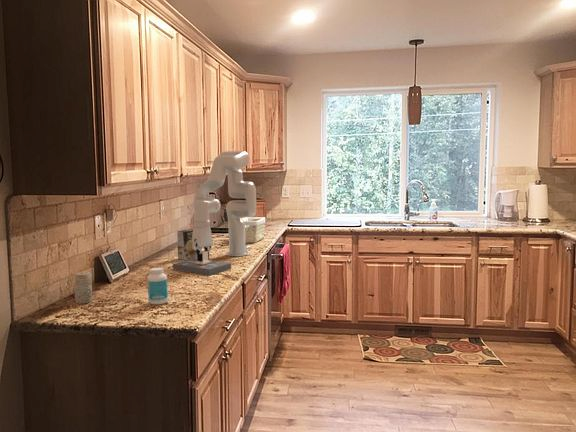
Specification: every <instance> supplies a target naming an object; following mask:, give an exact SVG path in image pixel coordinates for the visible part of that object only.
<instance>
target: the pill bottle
mask: <svg viewBox="0 0 576 432" xmlns="http://www.w3.org/2000/svg"><path fill="white" fill-rule="evenodd" d="M146 279H147V295H148V296H147V297H148V303H149V304H150V305H155V306H156V305H159V306H160V305H163V304H166V303H168V301H169V292H168V290H169V289H168V276H167V274H165V273H164V268H163V267H152V268H150V274H149V275H148V276H147V278H146Z"/></svg>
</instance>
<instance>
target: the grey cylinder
mask: <svg viewBox="0 0 576 432" xmlns="http://www.w3.org/2000/svg"><path fill="white" fill-rule="evenodd" d="M92 282H93V279H92V274H91V272H90V271H78V272H75V273H74V298H75V303H77V304H78V305H83V304H89V303H90V302H91V301H92V299H93V284H92Z"/></svg>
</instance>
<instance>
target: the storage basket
mask: <svg viewBox="0 0 576 432" xmlns="http://www.w3.org/2000/svg"><path fill="white" fill-rule="evenodd" d="M241 218H242V219H243V221H244V223H245V244H247V243H248V244H249V243H251V244H252V243H257V242H259V241H261V240H263V239H264V238H265V231H266V217H263V216H262V217H261V216H260V217H257V216H256V217H255V216H253V217H241Z"/></svg>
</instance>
